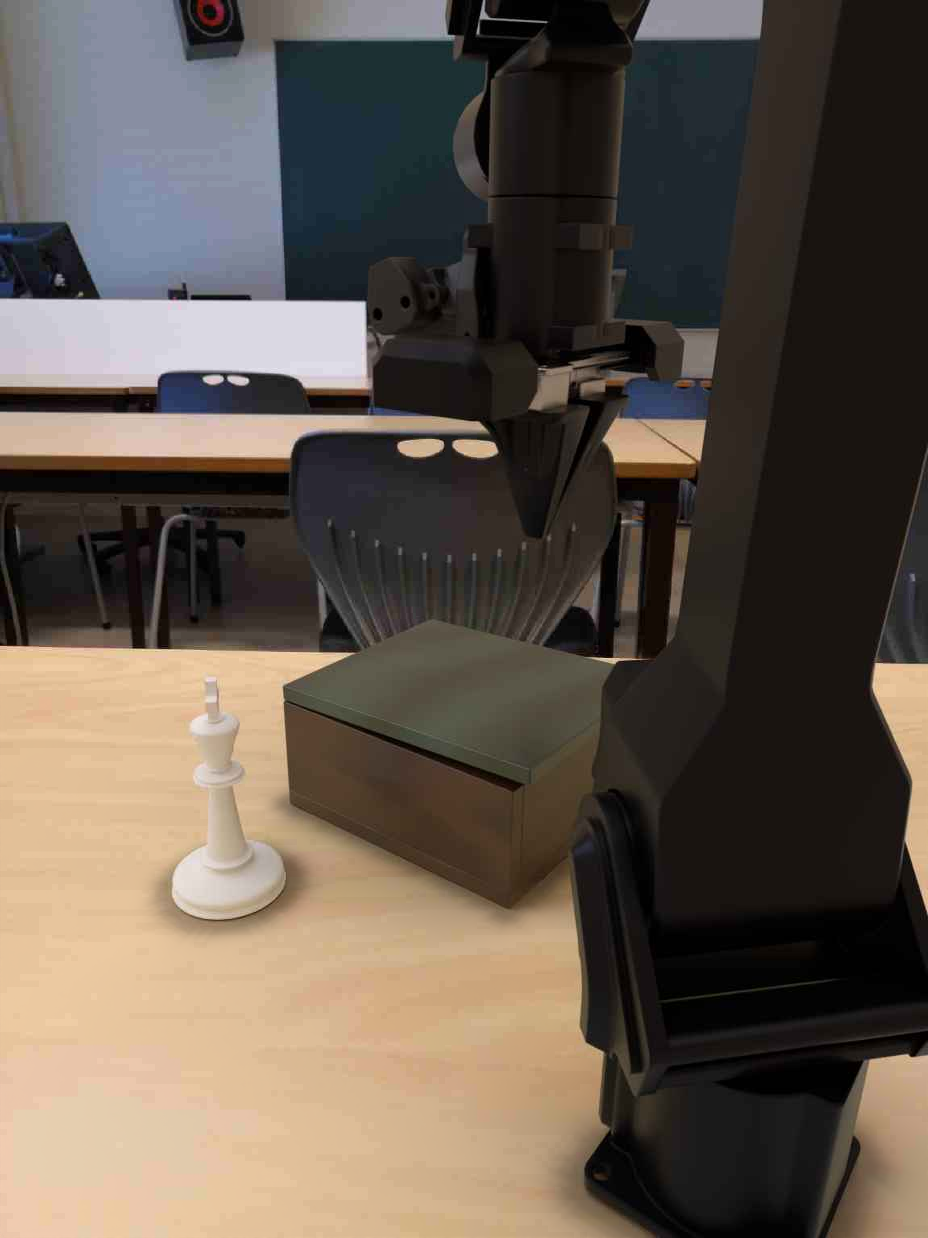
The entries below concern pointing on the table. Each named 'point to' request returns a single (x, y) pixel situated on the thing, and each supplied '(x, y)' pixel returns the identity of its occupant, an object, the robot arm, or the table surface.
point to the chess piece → (224, 832)
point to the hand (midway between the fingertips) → (536, 536)
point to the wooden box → (436, 803)
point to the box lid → (465, 697)
